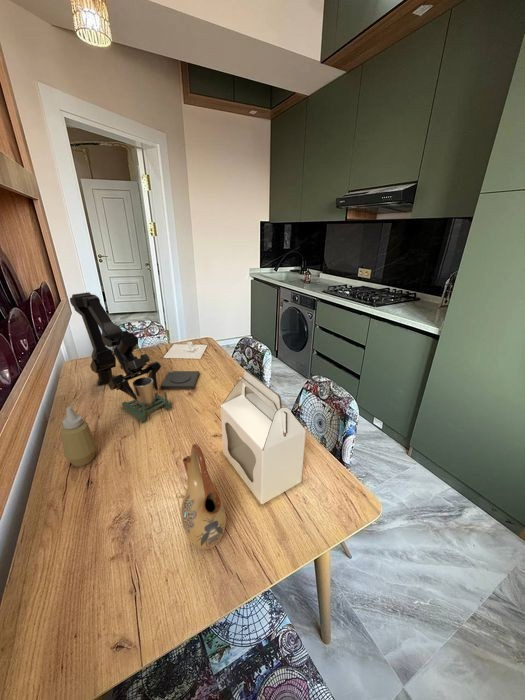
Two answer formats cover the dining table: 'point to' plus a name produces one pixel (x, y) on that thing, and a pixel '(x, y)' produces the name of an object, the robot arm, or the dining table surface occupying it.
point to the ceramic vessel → (201, 504)
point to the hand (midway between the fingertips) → (147, 394)
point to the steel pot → (144, 391)
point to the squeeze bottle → (77, 439)
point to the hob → (180, 380)
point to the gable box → (262, 438)
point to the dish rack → (142, 416)
